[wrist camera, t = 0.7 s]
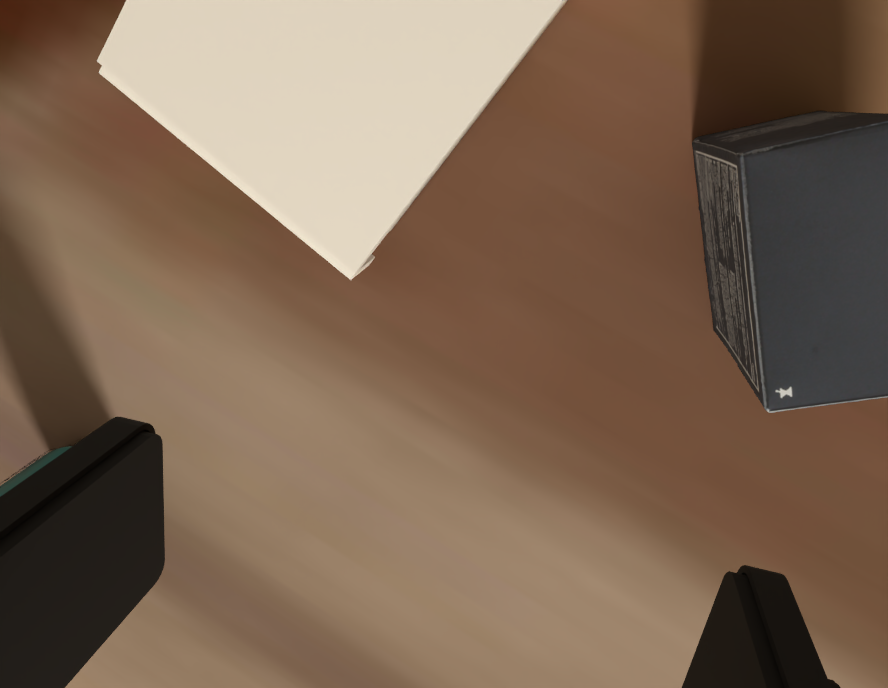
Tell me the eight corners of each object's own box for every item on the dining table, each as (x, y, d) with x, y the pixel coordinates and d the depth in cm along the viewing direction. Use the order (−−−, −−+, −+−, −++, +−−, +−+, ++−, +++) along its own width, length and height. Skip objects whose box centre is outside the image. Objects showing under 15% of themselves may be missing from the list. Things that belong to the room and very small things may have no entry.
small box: (844, 314, 35) (944, 398, 25) (712, 334, 37) (759, 420, 27) (832, 104, 32) (941, 109, 22) (688, 137, 34) (732, 154, 24)
